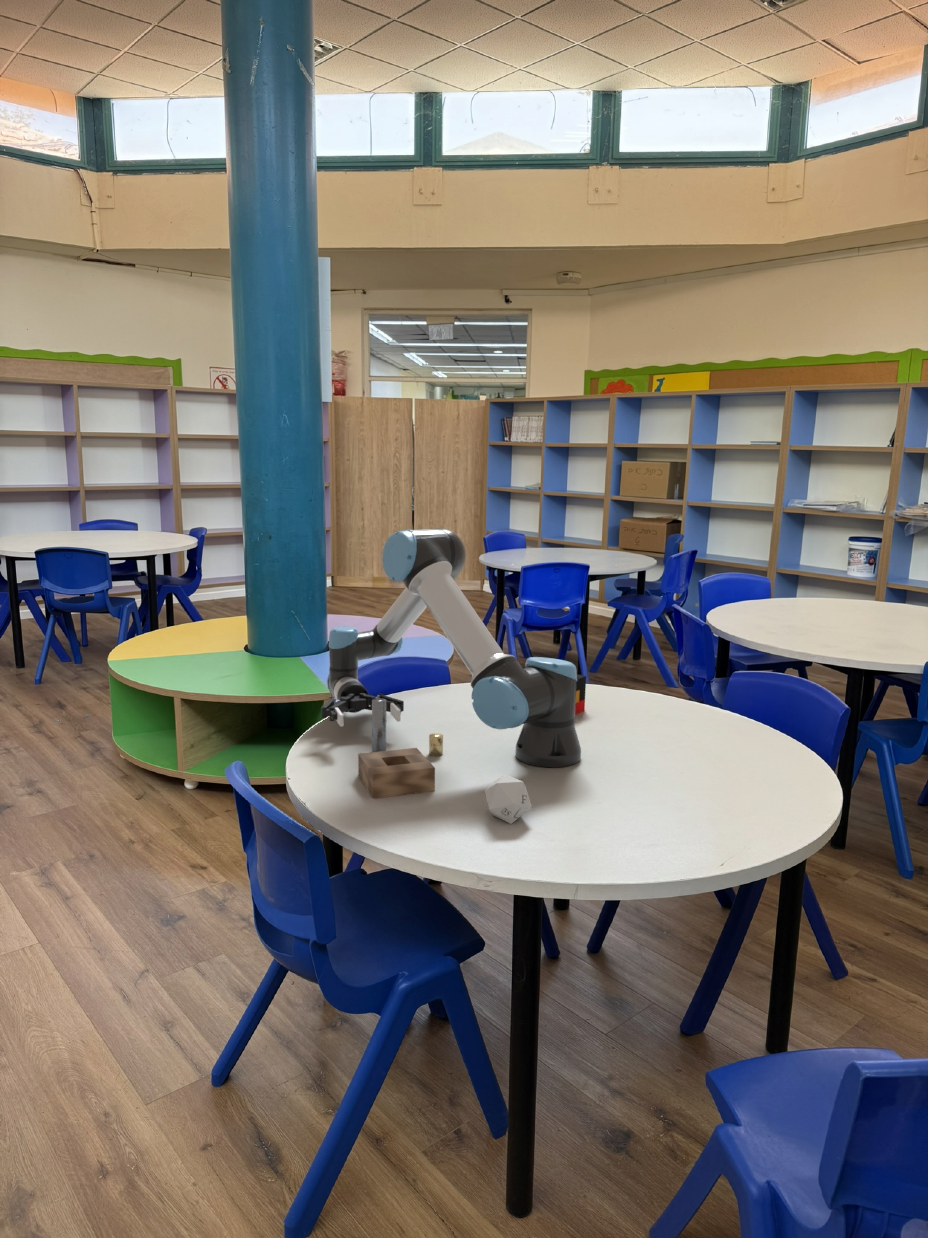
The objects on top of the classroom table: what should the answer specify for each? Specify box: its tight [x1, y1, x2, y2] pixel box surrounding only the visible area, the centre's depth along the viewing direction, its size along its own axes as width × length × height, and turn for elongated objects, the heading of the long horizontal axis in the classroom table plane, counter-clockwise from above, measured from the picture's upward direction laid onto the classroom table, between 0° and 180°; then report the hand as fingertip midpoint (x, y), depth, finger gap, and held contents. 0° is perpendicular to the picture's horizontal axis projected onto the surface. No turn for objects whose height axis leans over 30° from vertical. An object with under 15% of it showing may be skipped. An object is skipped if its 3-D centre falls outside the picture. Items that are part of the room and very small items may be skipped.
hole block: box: [357, 747, 436, 799], centre depth 172 cm, size 13×13×5 cm
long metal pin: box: [371, 698, 387, 752], centre depth 185 cm, size 3×3×14 cm
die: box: [484, 773, 533, 825], centre depth 156 cm, size 8×9×10 cm
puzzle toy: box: [575, 674, 587, 716], centre depth 227 cm, size 10×10×10 cm
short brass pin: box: [428, 732, 444, 757], centre depth 191 cm, size 3×3×4 cm
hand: (370, 718), depth 191 cm, fingers open, 13 cm apart
